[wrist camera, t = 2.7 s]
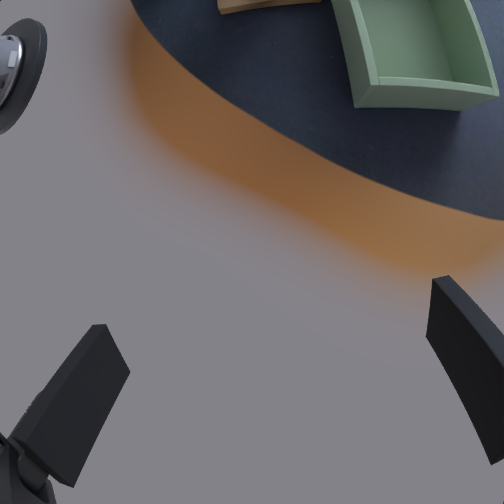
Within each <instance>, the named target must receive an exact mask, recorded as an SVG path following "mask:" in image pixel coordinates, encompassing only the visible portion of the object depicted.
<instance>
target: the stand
mask: <svg viewBox="0 0 504 504" xmlns="http://www.w3.org/2000/svg"><path fill="white" fill-rule="evenodd" d="M317 2H321V0H217V3H218V10H219V12H220V13H221V15H223V14H228V13H233V12H238V11H244V10H250V9H256V8H263V7H271V6H279V5H289V4H300V3H317Z"/></svg>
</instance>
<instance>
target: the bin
mask: <svg viewBox="0 0 504 504" xmlns="http://www.w3.org/2000/svg"><path fill="white" fill-rule="evenodd" d="M331 2H332V6H333V9H334V13H335V17H336V21H337V25H338V29H339V33H340V37H341V41H342V46H343V50H344V55H345V59H346V64H347V69H348V74H349V80H350V85H351V91H352V97H353V103H354V108H381V107H385V108H424V109H441V110H454V111H463V110H465V109H468V108H471V107H473V106H476V105H479V104H481V103H484V102H487V101H490V100H492V99H495V98H498V97H500V95H499V90H498V86H497V82H496V78H495V74H494V70H493V66H492V63H491V59H490V56H489V52H488V49H487V46H486V43H485V40H484V37H483V34H482V31H481V29H480V26H479V23H478V21H477V18H476V15H475V13H474V10H473V8H472V6H471V3H470V1H469V0H331Z"/></svg>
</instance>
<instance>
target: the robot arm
mask: <svg viewBox="0 0 504 504" xmlns="http://www.w3.org/2000/svg"><path fill="white" fill-rule="evenodd" d="M0 1H1V0H0ZM24 60H25V43H24V41H23V39H22V38H20V37H18V36H14V35H5V36H0V110H1V109H2V108H3V107H4V105H5V104H6V103H7V101H8V100H9V98H10V97H11V95H12V93H13V91H14V89H15V87H16V85H17V83H18V80H19V78H20V75H21V72H22V68H23V64H24ZM426 338H427V340H428V341H429V343H430V345H431V346H432V348H433V349H434V351H435V353H436V355H437V357H438V358H439V360H440V362H441V364H442V365H443V367H444V369H445V371H446V373H447V374H448V376H449V378H450V380H451V382H452V384H453V386H454V387H455V389H456V391H457V393H458V395H459V397H460V399H461V401H462V403H463V405H464V407H465V409H466V411H467V413H468V415H469V417H470V419H471V421H472V423H473V425H474V427H475V430H476V432H477V434H478V436H479V438H480V441H481V443H482V445H483V447H484V450H485V452H486V454H487V457H488V459H489V462H490V464H491V465H493V464H495V463H497V462H499V461H500V460H502V459H504V335H503V334H502V333H501V331H500V330H499V329H498V328H497V327H496V325H495V324H494V323H493V322H492V321H491V320H490V319H489V318H488V316H487V315H486V314H485V313H484V312H483V311H482V310H481V309H480V308H479V306H478V305H477V304H476V303H475V302H474V301H473V300H472V299H471V298H470V297H469V295H467V293H466V292H465V291H464V290H463V289H462V288H461V287H460V286H459V285H458V284H457V283H456V282H455V281H454V280H453V279H452V278H451V277H450V276H449V275H448V276H443V277H439V278H434V279H432V290H431V300H430V309H429V318H428V325H427V333H426ZM129 374H130V370H129V368H128V367H127V365H126V363H125V361H124V359H123V357H122V355H121V353H120V352H119V350H118V348H117V346H116V344H115V342H114V340H113V338H112V336H111V334H110V332H109V330H108V327H107V325H106V324H100V325H92V326H91V328H90V329H89V330H88V331H87V333H86V334H85V335H84V336H83V338H82V339H81V340H80V342H79V343H78V344H77V345H76V347H75V348H74V349H73V350H72V352H71V353H70V354H69V356H68V357H67V358H66V360H65V361H64V362H63V364H62V365H61V366H60V367H59V369H58V370H57V372H56V373H55V374H54V376H53V377H52V378H51V380H50V381H49V382H48V384H47V385H46V387H45V388H44V389H43V390H42V391H41V392H40V393H39V394H38V395H37V396H36V398H35V399H34V400H33V402H32V403H31V404H32V405H30V406H29V407H28V409H27V410H26V411H27V412H26V413H24V415H23V416H22V418H21V419H20V421H19V422H18V424H17V425H16V427H15V428H14V430H13V431H12V433H11V434H10V436H9V437H8V438H7V439H6V438H5V437H4V436H3V435H2V434H1V433H0V504H56V500H55V496H54V492H53V488H52V484H51V482H50V480H48V479H47V477H48V475H49V474H50V475H51V476H52V477H53V478H54V479H56V480H57V481H58V482H59V483H62V484H64V485H67V486H70V487H72V488H74V486H75V483H76V481H77V479H78V477H79V475H80V472H81V470H82V468H83V466H84V464H85V462H86V460H87V457H88V455H89V453H90V451H91V449H92V447H93V445H94V443H95V441H96V438H97V437H98V435H99V433H100V430H101V428H102V426H103V424H104V423H105V420H106V419H107V416H108V414H109V413H110V411H111V408H112V407H113V405H114V403H115V401H116V399H117V397H118V395H119V393H120V391H121V389H122V387H123V385H124V383H125V381H126V380H127V377H128V376H129ZM503 504H504V502H503Z"/></svg>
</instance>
